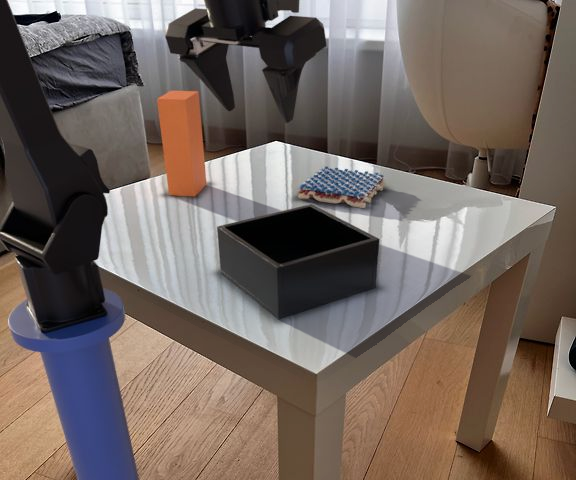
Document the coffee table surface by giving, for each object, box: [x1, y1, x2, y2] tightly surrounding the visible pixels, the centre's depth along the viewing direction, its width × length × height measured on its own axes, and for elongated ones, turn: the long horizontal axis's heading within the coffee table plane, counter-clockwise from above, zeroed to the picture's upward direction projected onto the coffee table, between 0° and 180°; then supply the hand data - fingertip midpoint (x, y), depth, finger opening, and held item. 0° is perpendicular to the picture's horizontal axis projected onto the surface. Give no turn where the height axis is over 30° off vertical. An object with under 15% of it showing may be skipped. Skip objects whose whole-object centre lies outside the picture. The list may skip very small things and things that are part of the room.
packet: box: [156, 90, 208, 198], centre depth 88 cm, size 6×4×13 cm
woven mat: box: [297, 166, 387, 209], centre depth 89 cm, size 10×11×2 cm
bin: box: [216, 203, 380, 320], centre depth 65 cm, size 12×12×6 cm
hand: (259, 115), depth 71 cm, fingers open, 9 cm apart
